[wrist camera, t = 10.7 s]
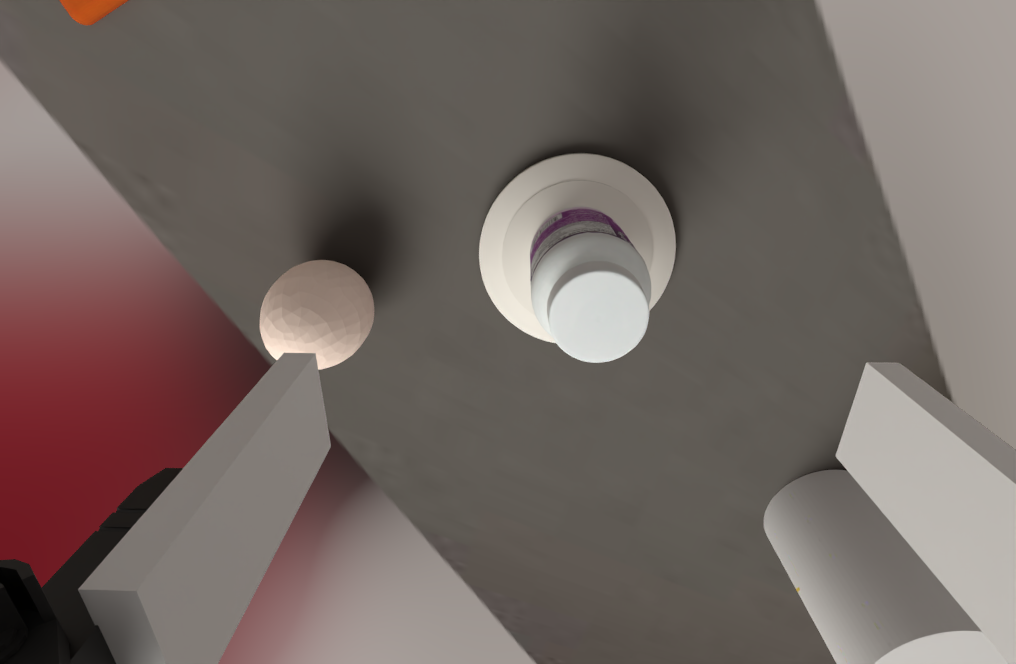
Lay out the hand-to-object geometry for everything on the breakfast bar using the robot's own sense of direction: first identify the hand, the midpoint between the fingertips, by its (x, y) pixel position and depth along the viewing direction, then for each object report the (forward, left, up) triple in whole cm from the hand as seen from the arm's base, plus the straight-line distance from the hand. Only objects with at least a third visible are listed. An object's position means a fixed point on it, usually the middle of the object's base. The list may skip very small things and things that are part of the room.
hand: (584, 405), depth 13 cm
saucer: (+2, +2, -19) cm, 19 cm away
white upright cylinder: (+21, +21, -19) cm, 35 cm away
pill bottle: (+1, +2, -18) cm, 18 cm away
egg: (+4, -12, -19) cm, 23 cm away
